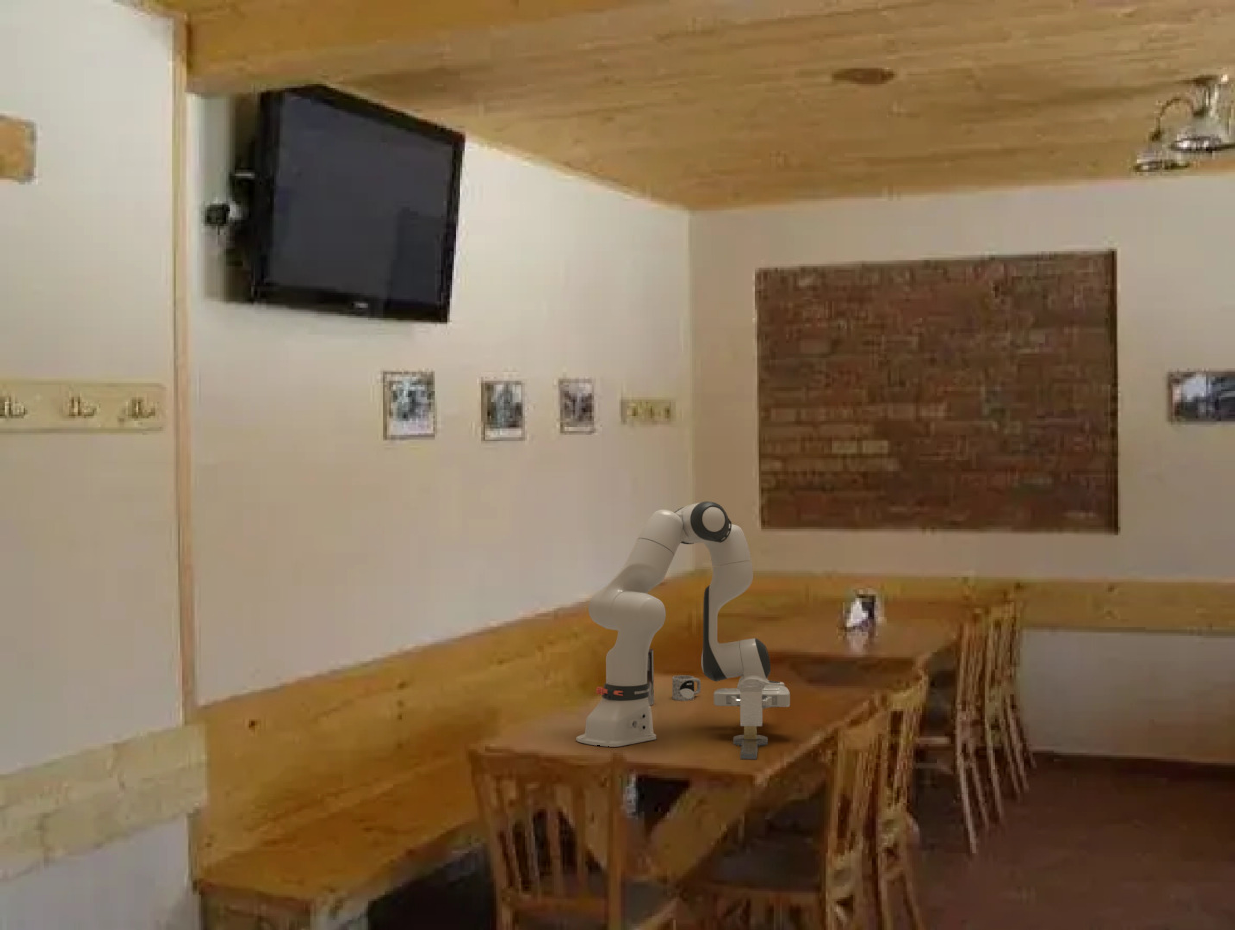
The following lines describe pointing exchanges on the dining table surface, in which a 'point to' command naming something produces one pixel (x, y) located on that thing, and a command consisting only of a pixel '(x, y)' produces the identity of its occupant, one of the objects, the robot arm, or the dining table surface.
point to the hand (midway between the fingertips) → (751, 703)
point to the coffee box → (650, 677)
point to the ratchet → (750, 742)
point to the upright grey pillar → (751, 704)
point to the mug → (684, 687)
